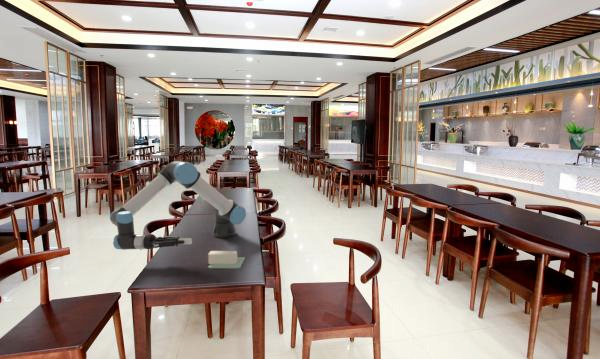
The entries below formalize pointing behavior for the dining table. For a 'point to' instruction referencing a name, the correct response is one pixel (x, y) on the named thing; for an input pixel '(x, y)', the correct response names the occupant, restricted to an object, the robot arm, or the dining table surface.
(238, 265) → the sage mat
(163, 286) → the dining table surface
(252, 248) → the dining table surface
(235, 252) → the cream block
